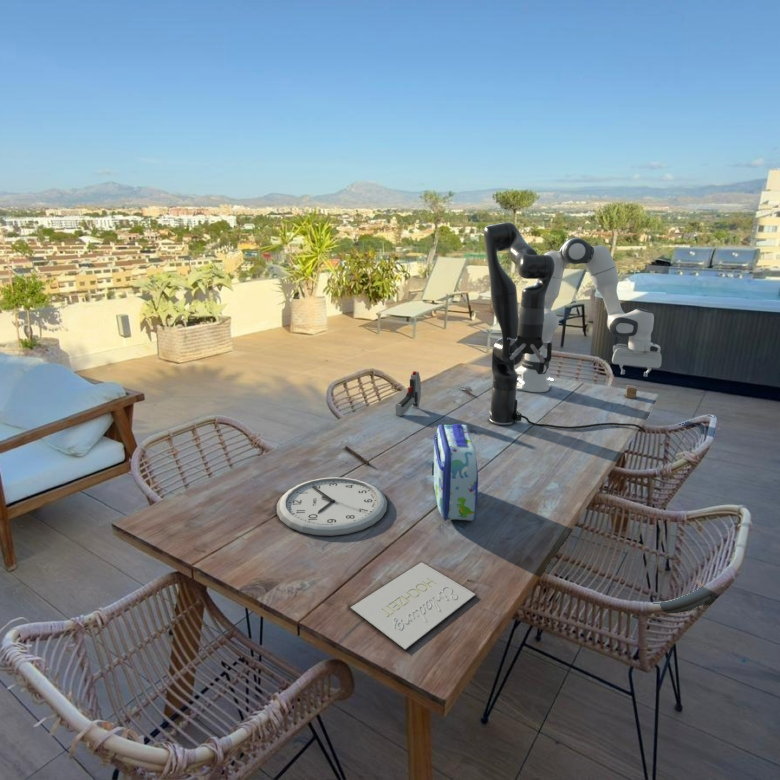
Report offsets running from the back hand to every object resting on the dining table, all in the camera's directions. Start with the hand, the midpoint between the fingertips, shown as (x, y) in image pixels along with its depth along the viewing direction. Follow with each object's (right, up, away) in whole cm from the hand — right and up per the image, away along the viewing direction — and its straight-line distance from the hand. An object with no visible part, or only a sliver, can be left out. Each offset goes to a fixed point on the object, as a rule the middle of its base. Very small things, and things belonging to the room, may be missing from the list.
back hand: (633, 375), depth 238 cm
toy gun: (-104, -16, -21) cm, 107 cm away
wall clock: (-127, -38, -95) cm, 163 cm away
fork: (-76, -8, +5) cm, 76 cm away
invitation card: (-106, -50, -131) cm, 176 cm away
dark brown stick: (-122, -29, -65) cm, 141 cm away
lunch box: (-94, -38, -93) cm, 137 cm away
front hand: (-68, -1, -72) cm, 99 cm away
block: (0, -10, +3) cm, 10 cm away
